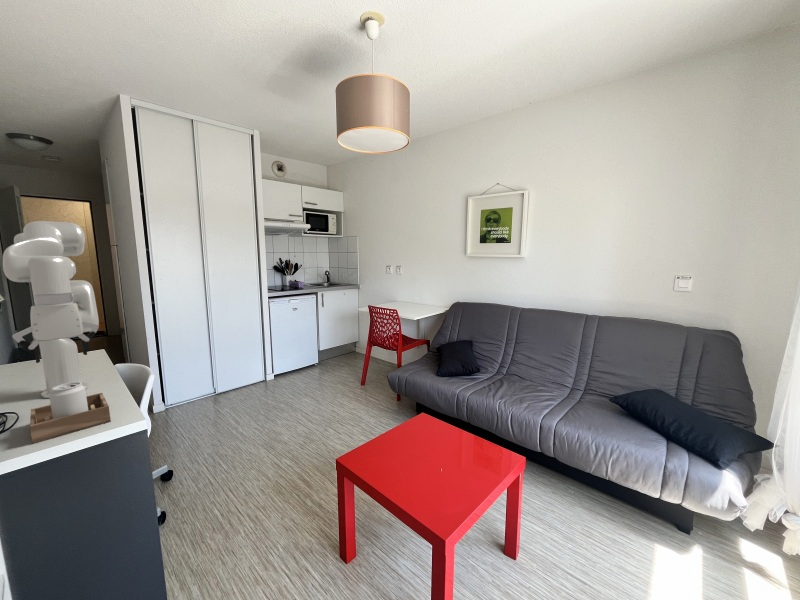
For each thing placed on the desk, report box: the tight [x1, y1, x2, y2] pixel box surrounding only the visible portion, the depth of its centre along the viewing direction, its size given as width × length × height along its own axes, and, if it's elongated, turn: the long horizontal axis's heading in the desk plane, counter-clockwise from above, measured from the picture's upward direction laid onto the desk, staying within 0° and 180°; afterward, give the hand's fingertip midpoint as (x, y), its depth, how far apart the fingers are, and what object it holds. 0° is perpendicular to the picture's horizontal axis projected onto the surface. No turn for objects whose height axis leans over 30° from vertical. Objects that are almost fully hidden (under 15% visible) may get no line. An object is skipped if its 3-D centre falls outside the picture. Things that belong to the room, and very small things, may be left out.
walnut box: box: [29, 392, 112, 445], centre depth 99 cm, size 16×16×5 cm
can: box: [49, 382, 88, 420], centre depth 97 cm, size 8×8×12 cm
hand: (62, 357), depth 95 cm, fingers open, 9 cm apart
